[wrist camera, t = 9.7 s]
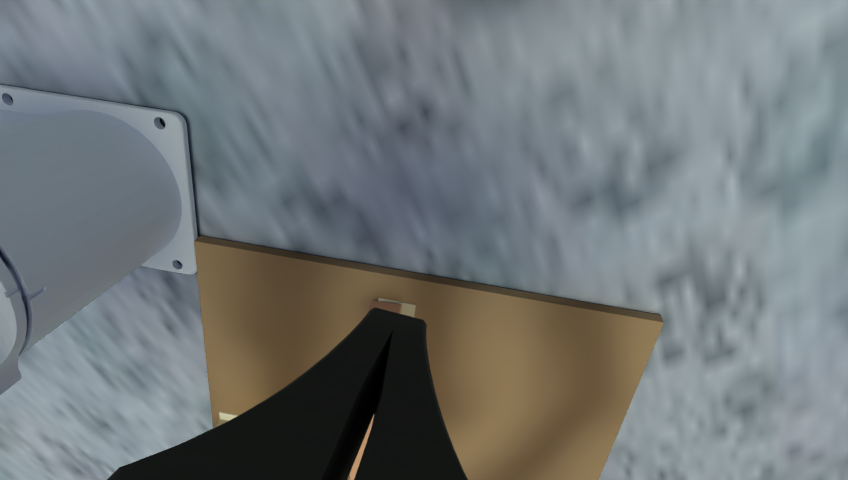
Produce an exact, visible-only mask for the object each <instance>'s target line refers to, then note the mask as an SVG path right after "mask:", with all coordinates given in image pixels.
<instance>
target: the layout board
mask: <svg viewBox="0 0 848 480" xmlns="http://www.w3.org/2000/svg"><path fill="white" fill-rule="evenodd" d="M194 247H195V257H196V266H197V276H198V285H199V295H200V304H201V314H202V324H203V333H204V343H205V352H206V362H207V372H208V381H209V391H210V400H211V410H212V420H213V428H214V427H215V425H216V424H217V422H218V421H219V419H224V420H231V419H233V418H235V417H237V416H239V415H240V414H242V413H244V412H246V411H247V410H249V409H251V408H252V407H254V406H256V405H257V404H259V403H261V402H262V401H264V400H266V399H267V398H269V397H271V396H272V395H274V394H275V393H277V392H278V391H280V390H281V389H283V388H284V387H286V386H287V385H288V384H290V383H291V382H293V381H294V380H295V379H297V378H298V377H299V376H301V375H302V374H303V373H305V372H306V371H307V370H308V369H310V368H311V367H312V366H313V365H315V364H316V363H317V362H318V361H320V360H321V359H322V358H323V357H324V356H326V355H327V354H328V353H329V352H330V351H331V350H332V349H333V348H334V347H336V346H337V345H338V344H339V343H340V342H341V341H342V340H343V339H344V338H345V337H346V336H347V335H348V334H349V333H350V332H351V331H352V330H353V329H354V328H355V327H356V326H357V325H358V324H359V323H360V322H361V321H362V319H363V318H364V317H365V316H366V315H367V312H368V310H369V308H370V305H371V303H372V301H378V302H385V303H392V304H399V305H401V314H403V315H407V316H411V317H415V318H419V319H422V320H424V321H425V323H426V324H427V327H426V342H427V351H428V359H429V365H430V370H431V375H432V379H433V384H434V388H435V392H436V396H437V400H438V403H439V407H440V410H441V414H442V417H443V420H444V423H445V426H446V429H447V431H448V434H449V437H450V439H451V442H452V445H453V447H454V450H455V452H456V454H457V457H458V459H459V461H460V464H461V466H462V468H463V470H464V472H465V474H466V476H467V478H468V480H599V477H600V475H601V472H602V470H603V468H604V465H605V463H606V460H607V458H608V456H609V453H610V451H611V448H612V446H613V444H614V441H615V439H616V436H617V434H618V432H619V429H620V427H621V424H622V422H623V420H624V417H625V415H626V412H627V410H628V408H629V405H630V403H631V400H632V398H633V396H634V393H635V391H636V388H637V386H638V384H639V381H640V379H641V376H642V374H643V372H644V369H645V367H646V364H647V362H648V360H649V357H650V355H651V352H652V350H653V348H654V345H655V343H656V340H657V338H658V336H659V333H660V331H661V328H662V326H663V324H664V322H663V320H662V318H661V316H660V315H658V314H652V313H646V312H640V311H635V310H629V309H623V308H617V307H611V306H606V305H600V304H594V303H588V302H582V301H576V300H571V299H565V298H559V297H553V296H547V295H542V294H536V293H530V292H524V291H518V290H513V289H507V288H501V287H495V286H489V285H484V284H478V283H472V282H466V281H460V280H455V279H449V278H443V277H437V276H431V275H426V274H420V273H414V272H408V271H402V270H397V269H391V268H385V267H379V266H373V265H368V264H362V263H356V262H350V261H344V260H339V259H333V258H327V257H321V256H315V255H310V254H304V253H298V252H292V251H286V250H281V249H275V248H269V247H263V246H257V245H252V244H246V243H240V242H234V241H228V240H223V239H217V238H211V237H205V236H200V237H198V238H197V239H196V240H195V241H194Z"/></svg>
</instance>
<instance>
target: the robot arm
mask: <svg viewBox="0 0 848 480" xmlns="http://www.w3.org/2000/svg"><path fill="white" fill-rule="evenodd" d="M10 96H11V97H12V99H13V101H12V100H11V98H10ZM160 118H162V119H163V120H164V121H165V124H166V126H165V127H164V126H162V124H161V123H160V121H159V120H160ZM197 238H198V234H197V224H196V214H195V204H194V194H193V184H192V174H191V164H190V154H189V144H188V134H187V125H186V121H185V119H184V118H183V116H182V115H180V114H179V113H177V112H174V111H167V110H161V109H154V108H148V107H141V106H135V105H128V104H122V103H116V102H109V101H103V100H96V99H90V98H83V97H77V96H71V95H64V94H58V93H51V92H45V91H38V90H32V89H25V88H19V87H13V86H6V85H0V395H1V394H2V393H4V392H5V391H6V390H7V389H9V388H10V387H11V386H12V385H14V384H15V383H16V382H17V381H19V380H20V379H21V374H20V371H19V368H18V356H19V355H20V354H22V353H23V352H24V351H26V350H27V349H28V348H30V347H31V346H32V345H34V344H35V343H37V342H38V341H39V340H41V339H42V338H43V337H45V336H46V335H47V334H49V333H50V332H51V331H53V330H54V329H55V328H57V327H58V326H59V325H61V324H62V323H63V322H65V321H66V320H67V319H69V318H70V317H71V316H73V315H74V314H76V313H77V312H78V311H80V310H81V309H82V308H84V307H85V306H86V305H88V304H89V303H90V302H92V301H93V300H94V299H96V298H97V297H98V296H100V295H101V294H102V293H104V292H105V291H106V290H108V289H109V288H110V287H112V286H113V285H115V284H116V283H117V282H119V281H120V280H121V279H123V278H124V277H125V276H127V275H128V274H129V273H131V272H132V271H133V270H135V269H136V268H137V267H139V266H143V267H148V268H154V269H159V270H165V271H171V272H176V273H182V274H187V275H193V274H195V273H196V272H197V266H196V257H195V247H194V241H195V240H196V239H197ZM177 260H178V261H180V262H181V263H182V265H180V264H179V263H178V262H177ZM426 327H427V324H426V323H425V321H424V320H422V319H419V318H415V317H411V316H407V315H403V314H399V313H395V312H391V311H388V310H384V309H380V308H376V307H375V308H373V309H371V310H370V311H369V312H368V313H367V315H366V316H365V317H364V318H363V319H362V321H361V322H360V323H359V324H358V325H357V326H356V327H355V328H354V329H353V330H352V331H351V332H350V333H349V334H348V335H347V336H346V337H345V338H344V339H343V340H342V341H341V342H340V343H339V344H338V345H337V346H336V347H334V348H333V349H332V350H331V351H330V352H329V353H328V354H327V355H326V356H324V357H323V358H322V359H321V360H320V361H318V362H317V363H316V364H315V365H313V366H312V367H311V368H310V369H308V370H307V371H306V372H305V373H303V374H302V375H301V376H299V377H298V378H297V379H295V380H294V381H293V382H291V383H290V384H288V385H287V386H286V387H284V388H283V389H281V390H280V391H278V392H277V393H275V394H274V395H272V396H271V397H269V398H267V399H266V400H264V401H262V402H261V403H259V404H257V405H256V406H254V407H252V408H251V409H249V410H247V411H246V412H244V413H242V414H240V415H239V416H237V417H235V418H233V419H231V420H229V421H227V422H226V423H223V424H221V425H219V426H217V427H215V428H213V429H211V430H209V431H207V432H205V433H203V434H201V435H199V436H197V437H195V438H192V439H190V440H188V441H186V442H184V443H182V444H179V445H177V446H175V447H172V448H170V449H167V450H164V451H162V452H159V453H157V454H154V455H151V456H149V457H146V458H144V459H141V460H139V461H136V462H133V463H131V464H128V465H125V466H122V467H120V468H118V469H117V470H116V471H115V472H114V473H113V474H112V475H111V476H110V477H109V478H108V479H107V480H347V479H348V477H349V474H350V472H351V469H352V467H353V464H354V462H355V459H356V457H357V455H358V452H359V450H360V447H361V445H362V442H363V440H364V437H365V435H366V433H367V430H368V428H369V425H370V423H371V420H372V418H373V415H374V418H373V423H372V428H371V431H370V434H369V437H368V440H367V443H366V446H365V449H364V452H363V455H362V458H361V461H360V464H359V467H358V470H357V473H356V475H355V478H354V480H468V478H467V476H466V474H465V472H464V470H463V468H462V466H461V464H460V461H459V459H458V457H457V454H456V452H455V450H454V447H453V445H452V442H451V439H450V437H449V434H448V431H447V429H446V426H445V423H444V420H443V417H442V414H441V410H440V407H439V403H438V400H437V396H436V392H435V388H434V384H433V379H432V375H431V370H430V365H429V359H428V351H427V342H426Z"/></svg>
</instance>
